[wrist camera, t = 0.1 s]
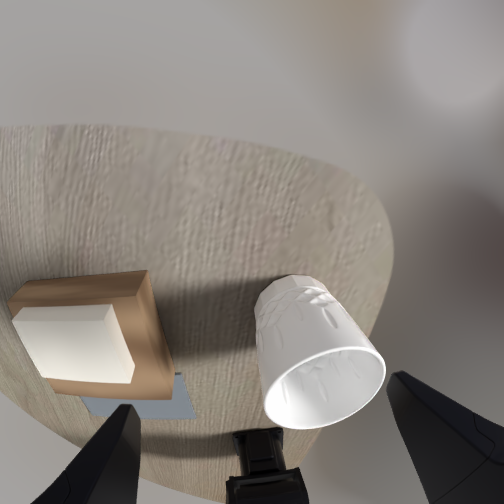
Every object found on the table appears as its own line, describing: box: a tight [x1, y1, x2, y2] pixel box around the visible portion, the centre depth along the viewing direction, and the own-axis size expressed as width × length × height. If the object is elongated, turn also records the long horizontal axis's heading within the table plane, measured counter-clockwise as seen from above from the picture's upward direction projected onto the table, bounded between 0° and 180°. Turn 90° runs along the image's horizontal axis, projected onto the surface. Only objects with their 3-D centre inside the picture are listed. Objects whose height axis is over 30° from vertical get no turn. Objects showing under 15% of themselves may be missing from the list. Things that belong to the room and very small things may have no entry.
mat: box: [80, 373, 196, 419], centre depth 27 cm, size 8×14×1 cm, turn 93°
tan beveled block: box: [7, 270, 175, 400], centre depth 22 cm, size 11×13×4 cm
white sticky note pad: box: [12, 304, 135, 384], centre depth 18 cm, size 6×9×2 cm, turn 94°
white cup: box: [254, 275, 386, 429], centre depth 20 cm, size 8×8×10 cm
